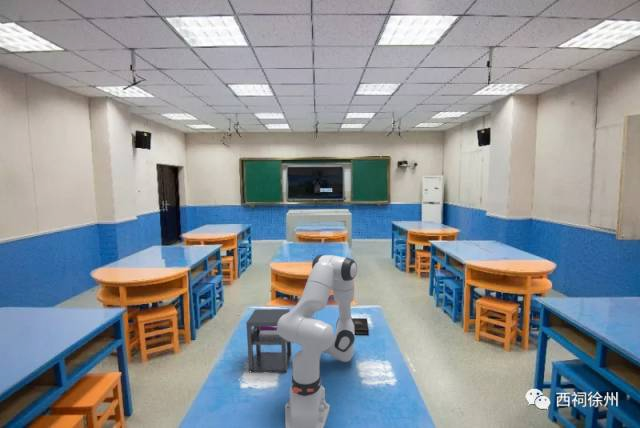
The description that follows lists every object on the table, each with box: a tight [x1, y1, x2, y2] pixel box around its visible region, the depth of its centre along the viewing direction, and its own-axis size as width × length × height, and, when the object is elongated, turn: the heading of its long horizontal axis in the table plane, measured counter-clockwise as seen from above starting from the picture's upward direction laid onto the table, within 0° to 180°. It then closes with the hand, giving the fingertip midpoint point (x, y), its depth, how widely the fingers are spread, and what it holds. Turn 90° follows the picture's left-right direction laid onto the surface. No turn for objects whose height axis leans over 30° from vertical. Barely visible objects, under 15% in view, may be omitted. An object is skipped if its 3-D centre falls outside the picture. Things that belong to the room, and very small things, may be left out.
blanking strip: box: [259, 331, 281, 338], centre depth 161 cm, size 4×24×2 cm, turn 86°
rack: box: [246, 308, 293, 374], centre depth 162 cm, size 16×20×26 cm
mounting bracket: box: [260, 327, 277, 331], centre depth 191 cm, size 9×8×18 cm
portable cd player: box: [352, 317, 370, 337], centre depth 199 cm, size 16×17×4 cm
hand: (299, 328), depth 160 cm, fingers open, 8 cm apart
